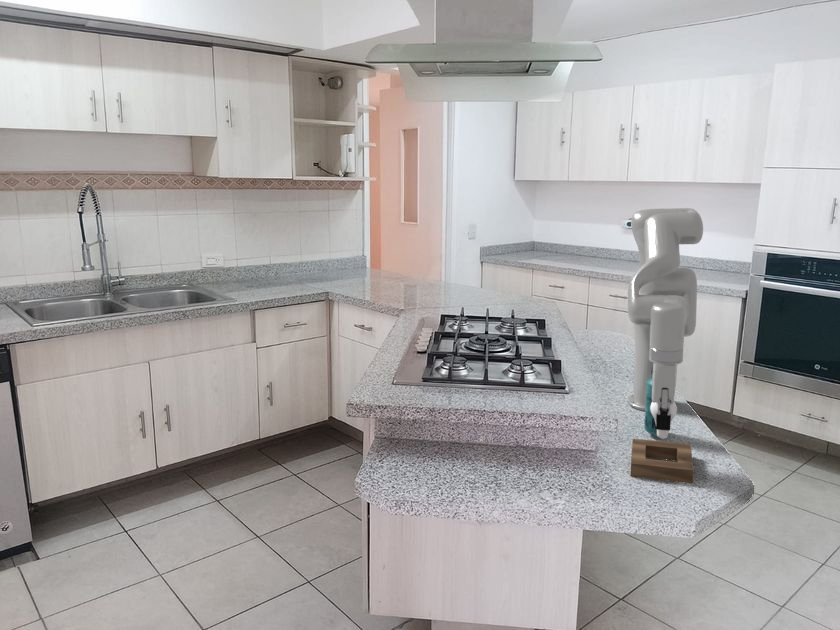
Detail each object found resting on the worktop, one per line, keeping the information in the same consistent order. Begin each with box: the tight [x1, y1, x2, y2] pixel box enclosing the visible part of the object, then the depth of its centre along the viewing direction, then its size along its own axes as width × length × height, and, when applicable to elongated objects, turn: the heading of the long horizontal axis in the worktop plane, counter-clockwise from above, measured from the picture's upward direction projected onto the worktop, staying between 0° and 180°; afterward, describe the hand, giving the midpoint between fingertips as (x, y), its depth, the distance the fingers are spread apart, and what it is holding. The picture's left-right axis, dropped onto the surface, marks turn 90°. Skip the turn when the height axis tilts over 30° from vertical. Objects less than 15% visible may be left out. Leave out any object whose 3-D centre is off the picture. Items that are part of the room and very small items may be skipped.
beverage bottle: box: [643, 367, 657, 436], centre depth 173 cm, size 6×7×20 cm
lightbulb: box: [650, 399, 678, 440], centre depth 156 cm, size 6×6×11 cm
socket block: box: [630, 438, 694, 484], centre depth 158 cm, size 14×14×4 cm
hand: (662, 423), depth 156 cm, fingers closed on lightbulb, 5 cm apart
